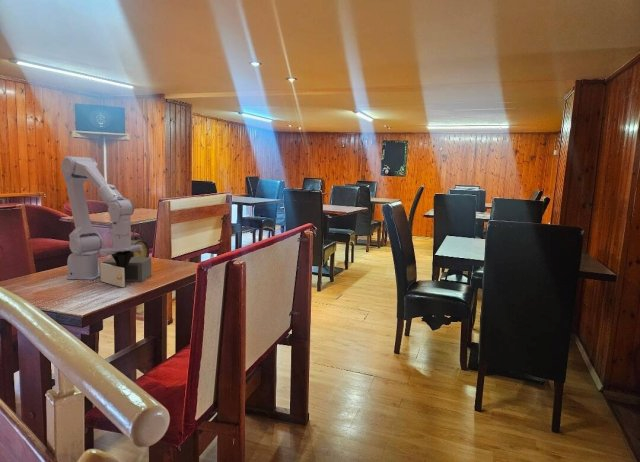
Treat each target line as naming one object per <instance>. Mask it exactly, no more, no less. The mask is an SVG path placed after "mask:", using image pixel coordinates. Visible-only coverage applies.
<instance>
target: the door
mask: <svg viewBox="0 0 640 462" xmlns="http://www.w3.org/2000/svg"><path fill="white" fill-rule="evenodd" d="M98 272H99V273H100V276H99V282H102V283H106V284H109V285H113V286H117V287H121V288H125V287H126V282H125V273H124V268H122V267H118V266H114V265H110V264H105V263H102V262H98Z"/></svg>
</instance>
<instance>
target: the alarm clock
mask: <svg viewBox="0 0 640 462" xmlns="http://www.w3.org/2000/svg"><path fill="white" fill-rule="evenodd" d="M135 232H137V234H136V235H135ZM132 234H133V237H134V239H131V245H142V250H141V251H139V250H138V251H131V253H133V256H132V257H145V258H150V247H149V245H148V243H147V241H146V240H144V239H138V236H139V230H138V229H134V230H133V233H132Z"/></svg>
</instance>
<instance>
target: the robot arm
mask: <svg viewBox="0 0 640 462" xmlns="http://www.w3.org/2000/svg"><path fill="white" fill-rule="evenodd" d="M60 168H61V173H62V178H63V181H65V185H66V191H67V196H68V201H69V205H70V209H71V214H72V220H73V223H74V227H75V228H74V229H73V231H71V232H70V234H69V235H68V236H69V244H68V246H69V250H70V252H71V253H70V254H69V255H68V257H67V261H66V265H67V277H66V279H67V280H93V281H94V280H95V279H98V278H100V272H99V254H100V256H103V257H104V256H105V257H106V256H109V255H111V258H112V257H113V258H114V260H115V262H116V264H117V266H118V267H122V268H124V273H126V270H127V266H128V264H129V261H130V259H131V257H132V256H133V253H131V251H138V250H139V251H141V250H142V245H131V240H132V238H131V237H132V236H131V235H132V233H131V228H132V227H131V218H132V215H134V214H135V213H134V212H135V205H134V203H133V202H132V200H131V199H127V198H125V197H124V196H123V194H121V193H120V192H119V190H118V189H117V188H116V185H113V184H111V183H109V184H108V182H107V181H106V179H105V178H104V176H103V175H102V174H101V172H100V171H99V165H98V162H96V160H95V158H94V157H90V156H89V157H85V156H83V157H82V156H81V157H80V156H71V155H70V156H69V155H66V156H64V158H63V159H62V162H61V163H60ZM87 181H90V182H91V183H92V184H93V185H94V187H96V188H97V189H98V192H97V193H98V196H99V197H100V199H102V201H103V202H104V203H105V204H106V206H107V207H108V208H107V212H108V214H109V217H110V221H111V222H112V224H111V225H112V246H111V247H106V248H103V246H104V240H103V238H102V237H101V234H100V231H99V230H98V229H97V228H95V227H94V226H92V223H91V222H92V221H91V216H90V212H89V208H88V207H89V206H88V203H87V198H86V193H85V188H84V184H85V182H87Z"/></svg>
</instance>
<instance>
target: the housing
mask: <svg viewBox="0 0 640 462" xmlns="http://www.w3.org/2000/svg"><path fill="white" fill-rule="evenodd" d="M101 263H105V264H110V265H114V266H117V264H116V262H115V260H114V258H113V257H112V256H111V257H110V258H108V259H105V260H103V261H101ZM151 276H152V257H149V258H145V257H131V259H130V261H129V264H128V266H127V270H126V273H125V283H127V282H128V283H143V282H145V280H147V279H148V278H151Z"/></svg>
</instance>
